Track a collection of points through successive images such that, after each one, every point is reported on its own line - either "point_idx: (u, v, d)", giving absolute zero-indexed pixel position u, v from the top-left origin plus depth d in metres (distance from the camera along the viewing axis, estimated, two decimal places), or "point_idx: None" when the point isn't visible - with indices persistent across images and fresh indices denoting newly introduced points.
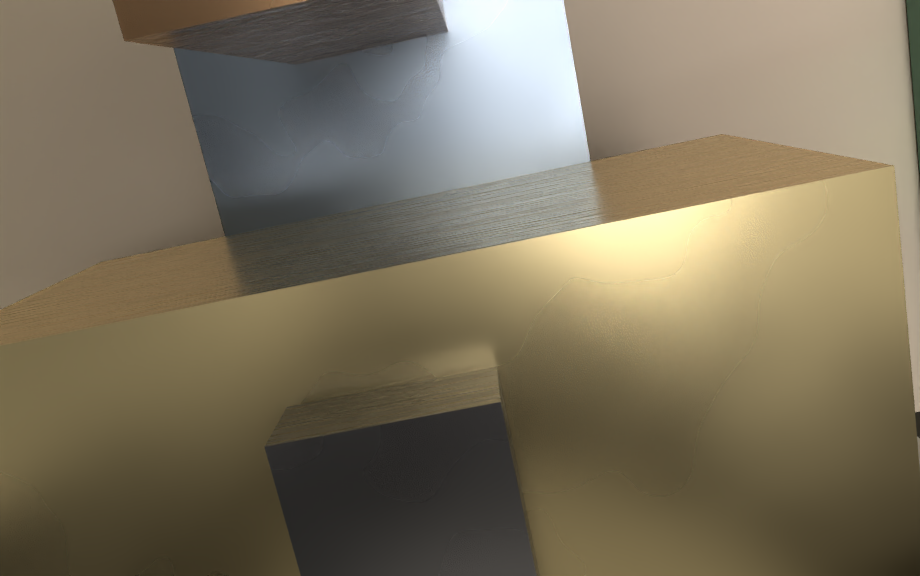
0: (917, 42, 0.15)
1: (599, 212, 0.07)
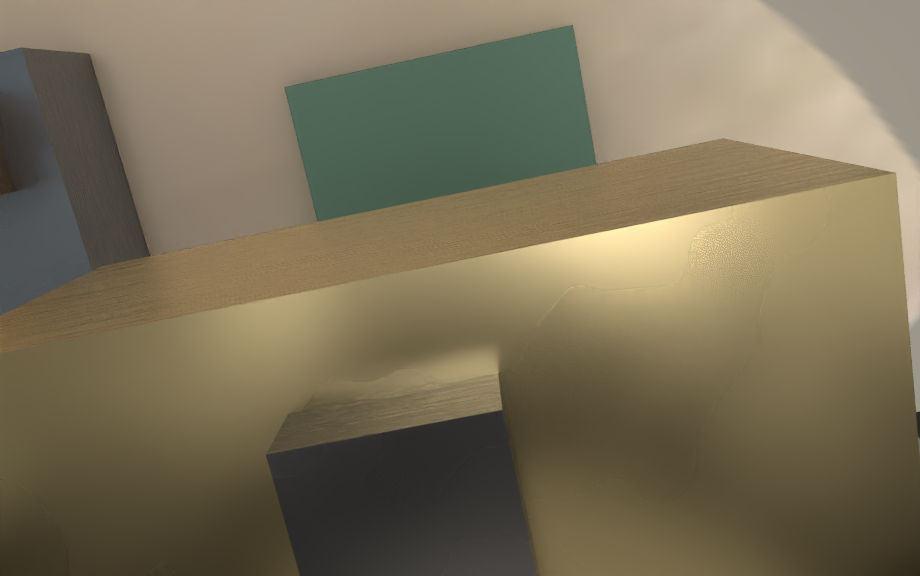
0: None
1: (601, 219, 0.07)
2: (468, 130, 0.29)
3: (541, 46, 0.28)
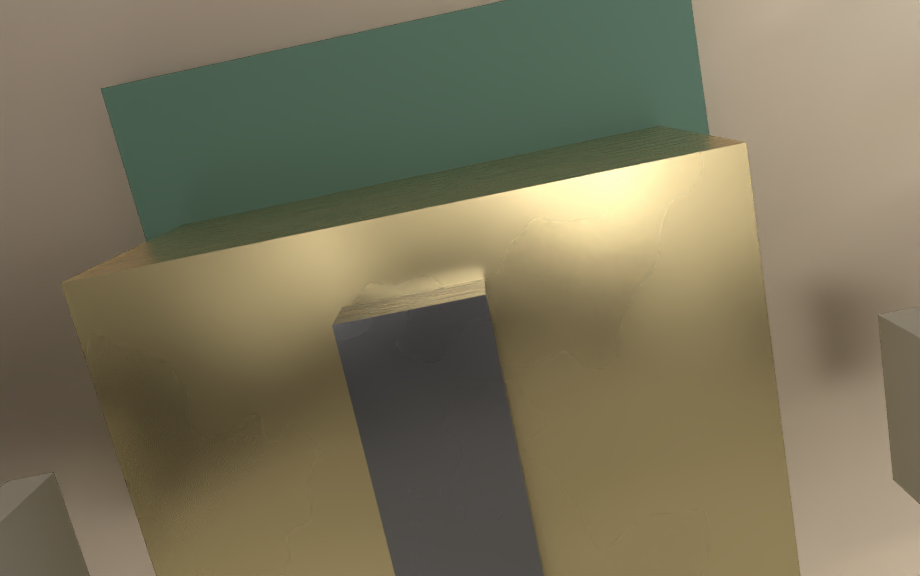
0: None
1: (554, 175, 0.10)
2: None
3: (620, 5, 0.14)
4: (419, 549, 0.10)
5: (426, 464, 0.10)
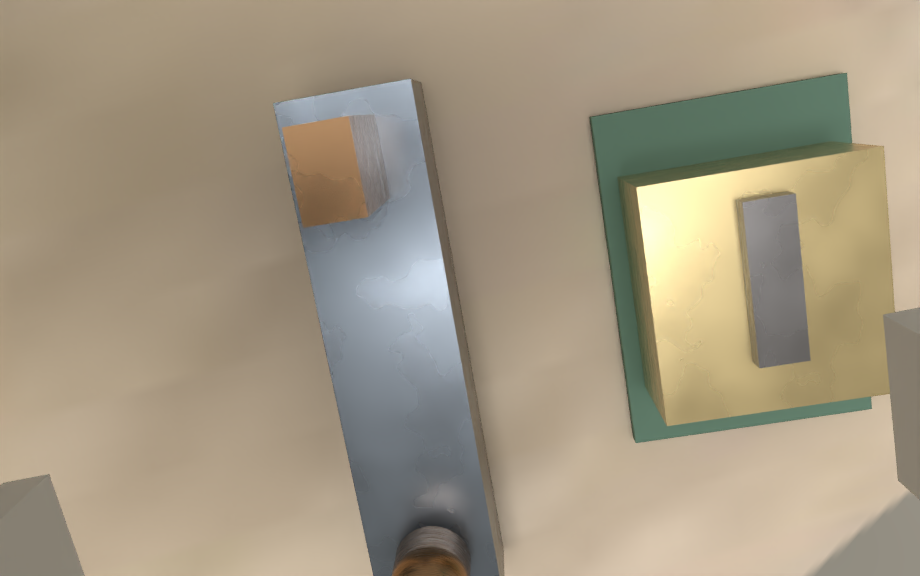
0: (600, 192, 0.34)
1: (811, 156, 0.29)
2: None
3: (817, 90, 0.33)
4: (762, 285, 0.29)
5: (768, 253, 0.29)
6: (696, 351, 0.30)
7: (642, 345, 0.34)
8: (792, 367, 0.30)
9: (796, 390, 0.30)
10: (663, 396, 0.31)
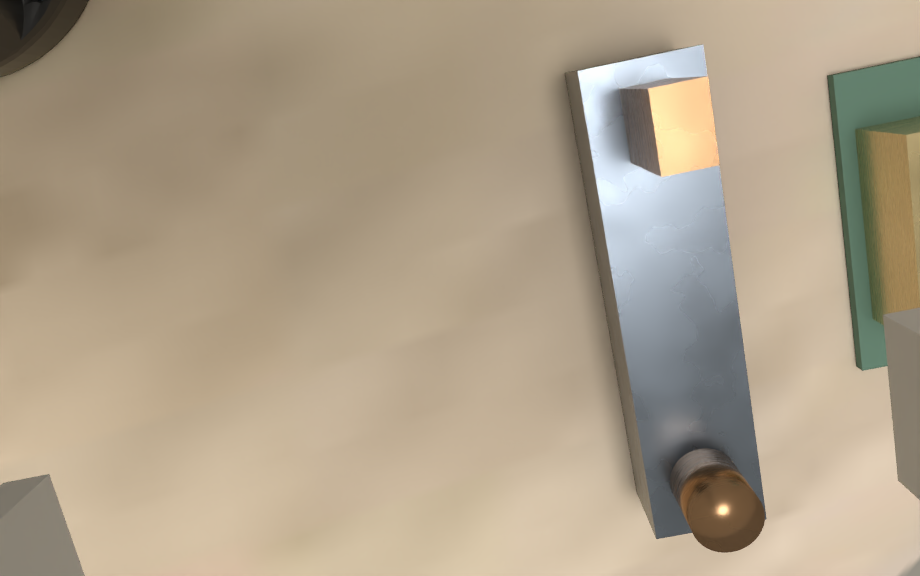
0: (836, 144, 0.38)
1: None
2: None
3: None
4: None
5: None
6: None
7: (877, 280, 0.38)
8: None
9: None
10: None
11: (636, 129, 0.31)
